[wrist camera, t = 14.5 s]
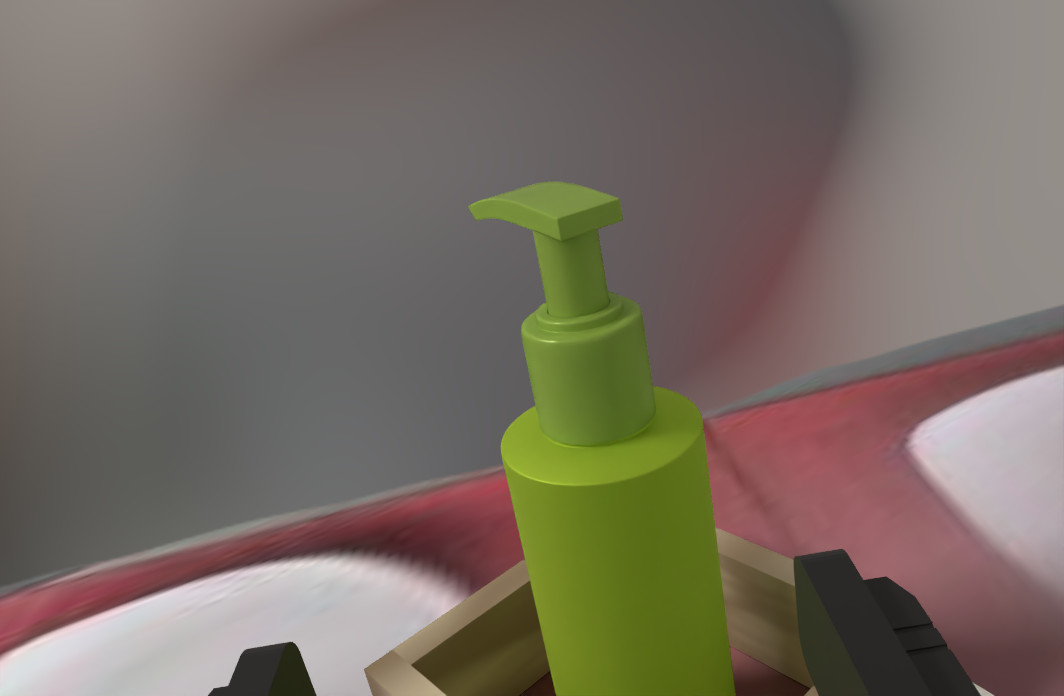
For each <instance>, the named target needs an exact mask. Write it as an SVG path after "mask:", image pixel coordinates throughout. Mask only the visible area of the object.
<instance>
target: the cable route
mask: <svg viewBox="0 0 1064 696" xmlns="http://www.w3.org/2000/svg"><path fill="white" fill-rule="evenodd" d="M972 683H973V682H972ZM973 684H974V683H973ZM974 686H975V687H976V689H977V690H978V692H979V693H980V695H981V696H994V695H993V694H991V693H989V692H988V691H986V690H984V689H983V688H981V687H979V686H978V685H976V684H974Z"/></svg>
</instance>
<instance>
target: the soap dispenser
mask: <svg viewBox="0 0 1064 696" xmlns="http://www.w3.org/2000/svg"><path fill="white" fill-rule="evenodd" d="M469 209H470V211H471V213H472V215H473V216H474V218H475V220H481V219H487V218H496V219H502V220H505V221H509V222H512V223H514V224H517V225H520V226H523V227H525V228H528V229H531V230H533V234H534V239H535V245H536V249H537V255H538V261H539V266H540V271H541V277H542V282H543V287H544V293H545V298H546V302H545V303H544V304H543V305H541V306H540V307H539V308H538V309H537V311H535V312H534V313H533V314H531V315H530V316H528V317H527V318H526V320H525V321H524V322H523V324H522V327H521V334H522V341H523V345H524V350H525V355H526V360H527V365H528V370H529V375H530V380H531V384H532V390H533V395H534V399H535V404H536V406H534V407H533V408H531V409H529V410H528V411H526V412H525V413H523V414H522V415H521V416H519V417H518V418H517V419H516V420H515V421H514V422H513V423H512V424H511V425H510V426H509V428H508V429H507V430H506V432H505V434H504V436H503V439H502V442H501V454H502V458H503V463H504V467H505V472H506V476H507V481H508V485H509V490H510V494H511V498H512V503H513V507H514V512H515V516H516V521H517V525H518V529H519V534H520V538H521V543H522V547H523V552H524V556H525V560H526V565H527V569H528V574H529V578H530V583H531V587H532V591H533V596H534V600H535V605H536V609H537V613H538V618H539V622H540V627H541V631H542V636H543V640H544V644H545V649H546V653H547V658H548V662H549V667H550V671H551V675H552V680H553V684H554V689H555V693H556V696H736V695H735V686H734V678H733V670H732V661H731V653H730V645H729V636H728V628H727V620H726V611H725V603H724V595H723V586H722V578H721V570H720V562H719V553H718V545H717V537H716V528H715V520H714V512H713V503H712V495H711V487H710V478H709V470H708V462H707V453H706V445H705V437H704V428H703V421H702V416H701V413H700V411H699V409H698V408H697V407H696V405H695V404H694V403H693V402H692V401H690V400H689V399H688V398H686V397H685V396H683V395H681V394H679V393H677V392H674V391H672V390H668V389H665V388H661V387H656V386H653V384H652V377H651V370H650V363H649V356H648V349H647V342H646V335H645V328H644V321H643V315H642V311H641V308H640V306H639V305H638V304H637V303H636V302H635V301H633V300H631V299H629V298H626V297H622V296H619V295H618V294H616V293H613V292H609V291H607V285H606V278H605V272H604V266H603V259H602V253H601V246H600V240H599V234H598V229H599V228H602V227H605V226H608V225H611V224H613V223H617V222H619V221H622V220H623V218H622V211H621V204H620V199H619V198H617V197H614V196H611V195H608V194H605V193H602V192H599V191H596V190H593V189H590V188H586V187H583V186H579V185H575V184H571V183H566V182H556V181H555V182H554V181H553V182H542V183H537V184H534V185H530V186H527V187H523V188H520V189H517V190H513V191H510V192H507V193H503V194H500V195H497V196H493V197H490V198H487V199H484V200H480V201H478V202H475V203H473V204H471V205H470V206H469Z"/></svg>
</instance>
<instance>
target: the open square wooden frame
mask: <svg viewBox="0 0 1064 696" xmlns="http://www.w3.org/2000/svg"><path fill="white" fill-rule="evenodd" d="M715 528H716V527H715ZM716 537H717V545H718V553H719V562H720V570H721V578H722V586H723V595H724V603H725V611H726V620H727V628H728V636H729V645H730V646H732V647H734V648H735V649H737V650H739V651H741V652H743V653H745V654H747V655H749V656H750V657H752V658H754V659H756V660H758V661H760V662H762V663H764V664H765V665H767V666H769V667H771V668H773V669H775V670H777V671H778V672H780V673H782V674H784V675H786V676H788V677H790V678H792V679H793V680H795V681H797V682H799V683H801V684H803V685H805V686H807V687H808V688H810V690H809V691H808V692H807V693H806V694H805V695H804V696H819V695H818V693H817V690H816V688H815V686H814V684H813V681H812V679H811V677H810V674H809V672H808V669H807V666H806V663H805V660H804V657H803V653H802V649H801V644H800V638H799V631H798V618H797V605H796V592H795V579H794V560H793V559H790V558H788V557H786V556H783V555H781V554H778V553H776V552H774V551H771V550H769V549H766V548H764V547H761V546H759V545H757V544H754V543H752V542H749V541H747V540H745V539H742V538H740V537H737V536H735V535H732V534H730V533H728V532H725V531H723V530H720V529H718V528H716ZM928 617H929V616H928ZM364 671H365V674H366V677H367V680H368V683H369V686H370V689H371V692H372V695H373V696H519V695H520V694H522V693H523V692H524V691H525V690H527V689H528V688H529V687H530V686H532V685H533V684H534V683H535V682H537V681H538V680H539V679H540V678H542V677H543V676H544V675H545V674H547V673H548V672H549V671H550V667H549V662H548V658H547V653H546V649H545V644H544V640H543V636H542V631H541V627H540V622H539V618H538V613H537V609H536V605H535V600H534V596H533V591H532V587H531V583H530V578H529V574H528V569H527V565H526V560H525V559H524V560H522V561H521V562H520V563H518V564H517V565H515V566H514V567H512V568H511V569H509V570H508V571H506V572H505V573H504V574H502V575H501V576H499V577H498V578H496V579H495V580H493V581H492V582H490V583H489V584H488V585H486V586H485V587H483V588H482V589H480V590H479V591H477V592H476V593H474V594H473V595H472V596H470V597H469V598H467V599H466V600H464V601H463V602H461V603H460V604H458V605H457V606H455V607H454V608H453V609H451V610H450V611H448V612H447V613H445V614H444V615H442V616H441V617H439V618H438V619H437V620H435V621H434V622H432V623H431V624H429V625H428V626H426V627H425V628H423V629H422V630H421V631H419V632H418V633H416V634H415V635H413V636H412V637H410V638H409V639H407V640H406V641H405V642H403V643H402V644H400V645H399V646H397V647H396V648H394V649H393V650H391V651H390V652H388V653H387V654H386V655H384V656H383V657H381V658H380V659H378V660H377V661H375V662H374V663H372V664H371V665H370V666H368V667H367V668H365V669H364Z"/></svg>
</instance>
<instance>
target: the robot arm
mask: <svg viewBox="0 0 1064 696" xmlns="http://www.w3.org/2000/svg"><path fill="white" fill-rule="evenodd" d="M794 579H795V592H796V605H797V618H798V631H799V638H800V644H801V649H802V653H803V657H804V660H805V663H806V666H807V669H808V672H809V674H810V677H811V679H812V681H813V684H814V686H815V688H816V690H817V693H818V695H819V696H981V695H980V693H979V692H978V690H977V689H976V687H975V686H974V684H973V683H972V681H971V680H970V678H969V677H968V675H967V674H966V672H965V671H964V669H963V668H962V666H961V665H960V663H959V662H958V660H957V659H956V657H955V656H954V654H953V653H952V651H951V650H948V648H947V644H946V642H945V641H944V639H943V638H942V636H941V635H940V633H939V632H938V630H937V629H936V628H934V627H933V624H932V621H931V620H930V618H929V617H928V615H927V614H926V612H925V611H924V609H923V608H922V606H921V605H920V603H919V602H918V600H917V599H916V597H915V596H913V595H912V594H910V593H909V592H908V591H906V590H905V589H903V588H902V587H900V586H899V585H898V584H896V583H895V582H893V581H892V580H891V579H889V578H888V577H880V578H874V579H868V580H863V579H862V577H861V576H860V574H859V572H858V571H857V569H856V567H855V566H854V564H853V562H852V561H851V559H850V557H849V556H848V554H847V553H846V552H845V550H843V549H838V550H832V551H826V552H820V553H814V554H808V555H802V556H796V557H795V558H794ZM208 696H316V693H315V691H314V688H313V685H312V683H311V680H310V677H309V675H308V672H307V669H306V667H305V664H304V662H303V659H302V656H301V654H300V651H299V649H298V647H297V646H296V644H295V643H293V642H287V643H281V644H275V645H269V646H263V647H257V648H251V649H246V650H245V651H244V652H243V653H242V654H241V656H240V658H239V661H238V663H237V666H236V668H235V671H234V673H233V676H232V678H231V680H230V683H229V685H228V686H226V687H220V688H214V689H213V690H212V691H211V693H210V694H209V695H208Z"/></svg>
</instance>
